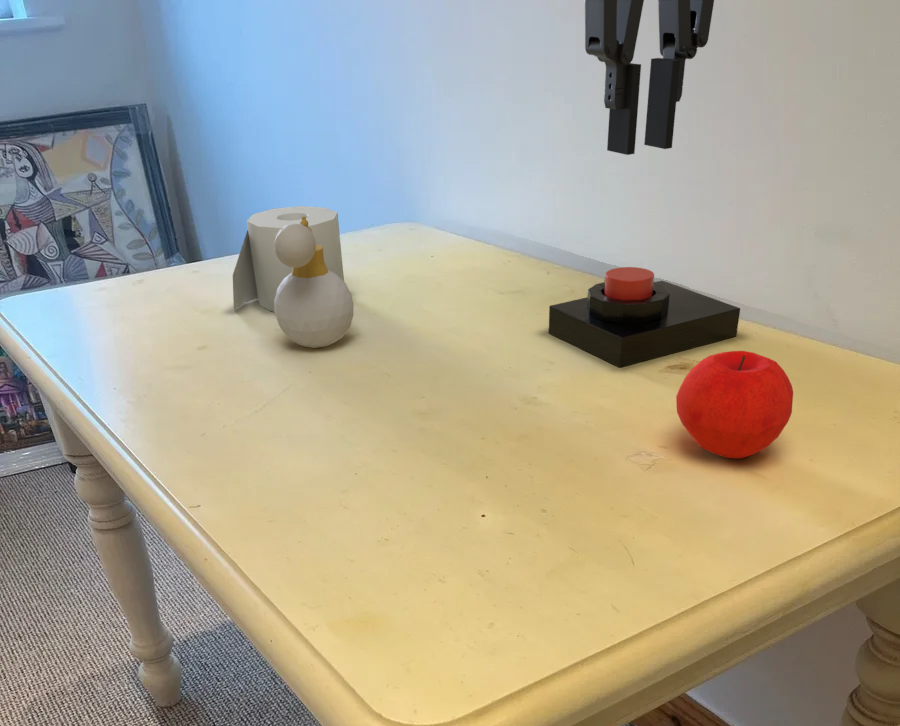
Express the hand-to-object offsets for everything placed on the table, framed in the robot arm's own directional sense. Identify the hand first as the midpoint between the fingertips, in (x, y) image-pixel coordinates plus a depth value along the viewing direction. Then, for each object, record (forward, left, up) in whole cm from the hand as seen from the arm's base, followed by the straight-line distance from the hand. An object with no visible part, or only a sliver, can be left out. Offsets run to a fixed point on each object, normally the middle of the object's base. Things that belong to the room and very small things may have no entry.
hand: (639, 148), depth 79 cm
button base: (-2, 0, -17) cm, 17 cm away
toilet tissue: (+22, -30, -17) cm, 41 cm away
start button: (0, 0, -12) cm, 12 cm away
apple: (+9, +23, -17) cm, 30 cm away
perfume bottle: (+25, -15, -17) cm, 34 cm away
